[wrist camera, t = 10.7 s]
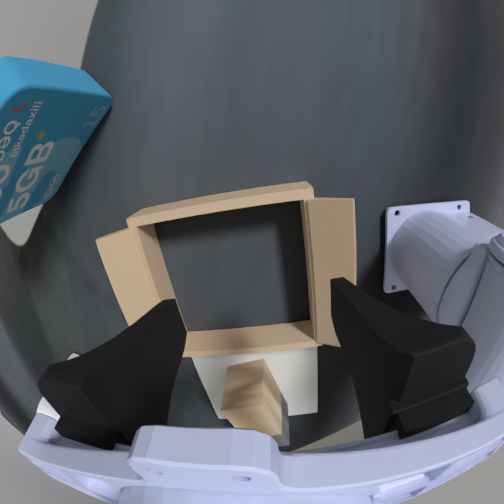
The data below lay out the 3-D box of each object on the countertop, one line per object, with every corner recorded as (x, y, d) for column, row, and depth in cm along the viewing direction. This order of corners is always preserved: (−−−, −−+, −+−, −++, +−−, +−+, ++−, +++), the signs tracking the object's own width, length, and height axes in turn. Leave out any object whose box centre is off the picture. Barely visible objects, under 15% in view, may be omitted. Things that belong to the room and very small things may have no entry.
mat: (316, 338, 26) (316, 341, 26) (317, 409, 31) (317, 412, 30) (190, 349, 27) (189, 352, 27) (219, 416, 32) (219, 418, 32)
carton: (336, 177, 20) (355, 189, 16) (342, 320, 25) (353, 354, 21) (119, 214, 22) (89, 232, 17) (162, 337, 27) (148, 369, 23)
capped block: (263, 358, 27) (262, 404, 21) (287, 404, 30) (289, 445, 24) (227, 366, 27) (220, 410, 22) (256, 410, 31) (254, 449, 25)
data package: (53, 200, 22) (-37, 246, 10) (31, 172, 20) (-58, 205, 9) (119, 97, 18) (11, 84, 7) (91, 71, 17) (-11, 52, 6)
